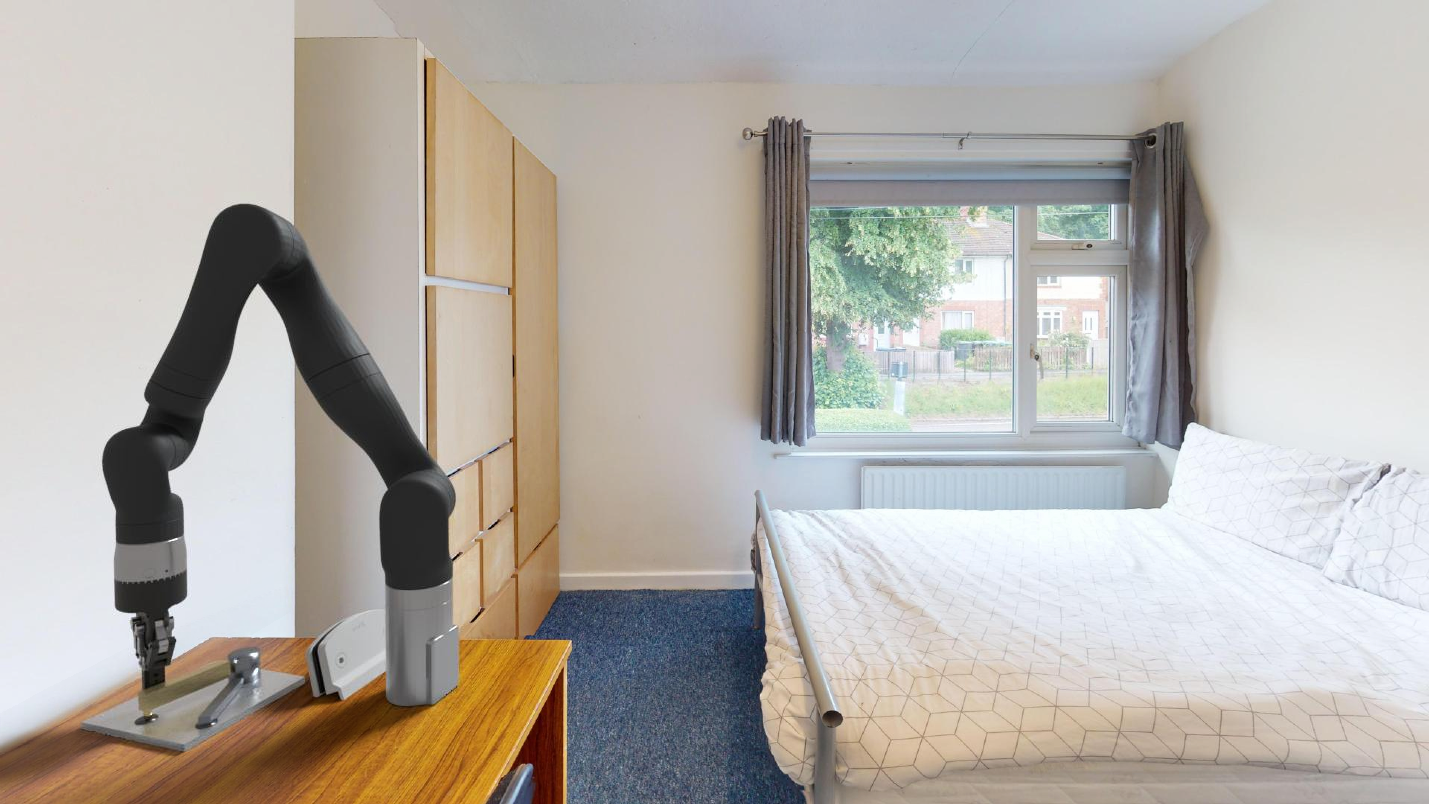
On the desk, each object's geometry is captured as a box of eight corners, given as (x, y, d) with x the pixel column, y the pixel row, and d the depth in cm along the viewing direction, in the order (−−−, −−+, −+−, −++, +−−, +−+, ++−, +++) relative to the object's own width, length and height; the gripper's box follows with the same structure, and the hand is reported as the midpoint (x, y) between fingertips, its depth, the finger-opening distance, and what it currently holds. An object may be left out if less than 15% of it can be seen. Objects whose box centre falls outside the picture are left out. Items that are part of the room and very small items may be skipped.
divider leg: (223, 682, 96) (222, 658, 96) (230, 684, 96) (229, 661, 96) (139, 718, 87) (138, 692, 87) (146, 721, 86) (145, 694, 86)
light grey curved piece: (342, 701, 95) (321, 636, 95) (315, 708, 96) (294, 643, 96) (414, 650, 111) (396, 595, 111) (391, 656, 112) (373, 601, 112)
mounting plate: (305, 683, 100) (304, 651, 99) (184, 751, 82) (183, 713, 82) (214, 667, 104) (213, 636, 103) (81, 729, 86) (79, 693, 86)
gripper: (199, 575, 87) (201, 699, 89) (173, 553, 96) (175, 667, 97) (125, 589, 82) (128, 722, 83) (104, 564, 90) (107, 686, 91)
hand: (153, 692), depth 90 cm, fingers closed
